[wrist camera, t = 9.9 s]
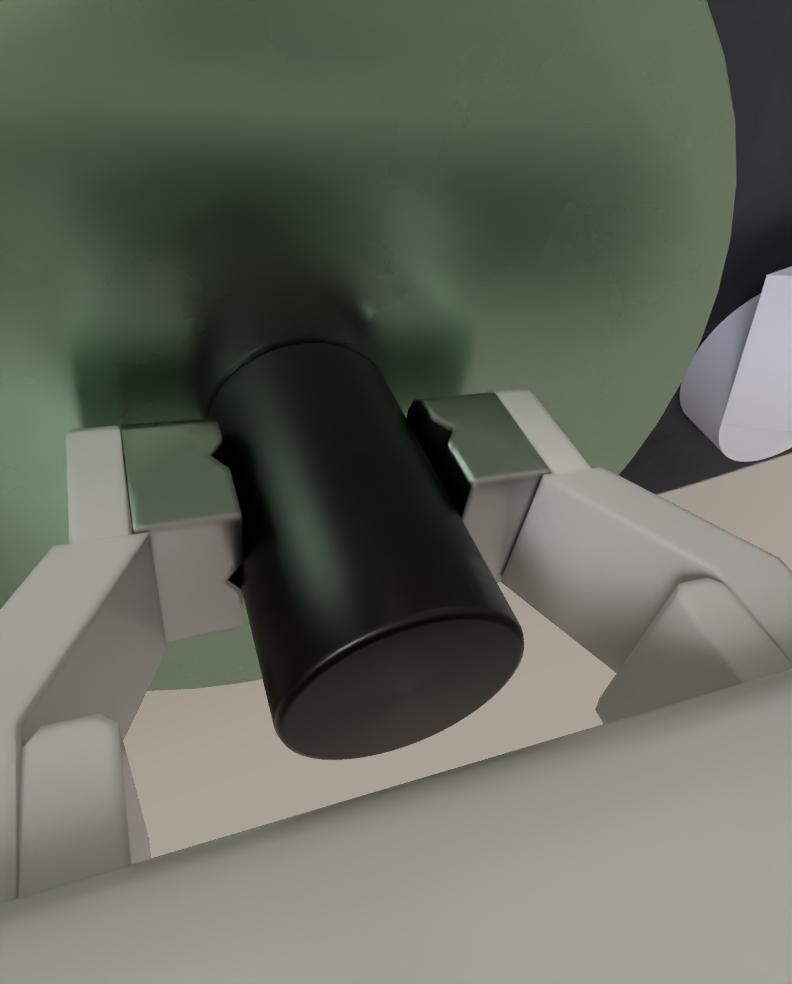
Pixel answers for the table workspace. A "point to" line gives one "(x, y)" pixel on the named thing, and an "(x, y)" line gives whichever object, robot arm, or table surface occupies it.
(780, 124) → the table surface
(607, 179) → the kettle lid
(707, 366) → the wedge on round base
